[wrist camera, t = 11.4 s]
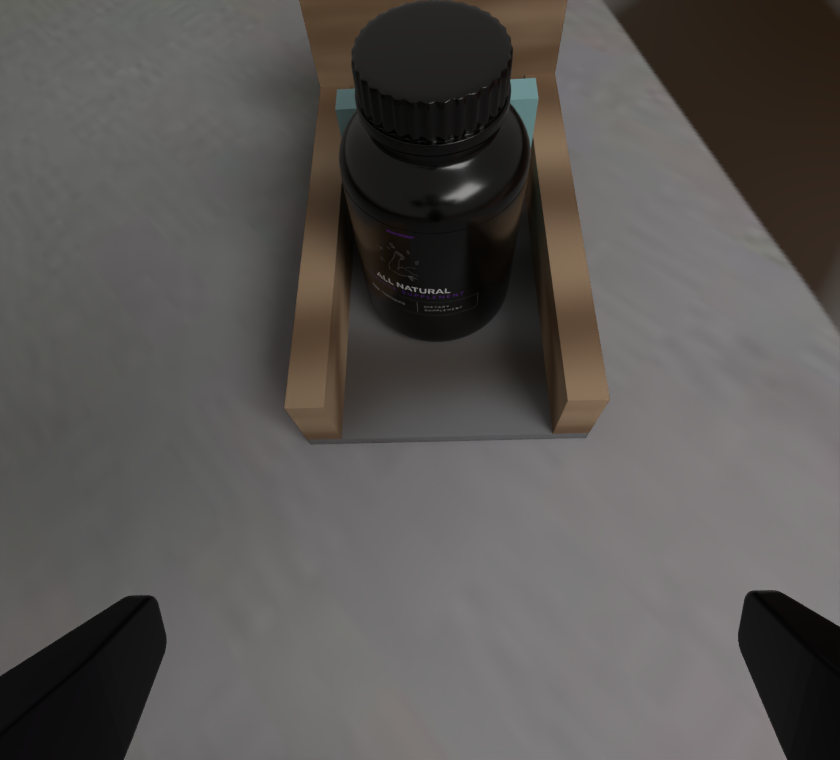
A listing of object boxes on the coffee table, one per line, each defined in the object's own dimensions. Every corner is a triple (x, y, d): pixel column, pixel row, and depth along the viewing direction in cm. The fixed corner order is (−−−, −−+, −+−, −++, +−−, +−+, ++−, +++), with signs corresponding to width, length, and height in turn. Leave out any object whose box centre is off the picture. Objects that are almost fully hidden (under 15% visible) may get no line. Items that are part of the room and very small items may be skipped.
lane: (586, 437, 24) (649, 337, 16) (310, 444, 24) (241, 350, 16) (540, 122, 32) (567, -44, 24) (337, 133, 33) (300, -26, 25)
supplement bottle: (390, 366, 25) (339, 155, 14) (354, 253, 28) (289, 6, 17) (531, 323, 25) (587, 89, 15) (482, 217, 28) (497, -44, 18)
